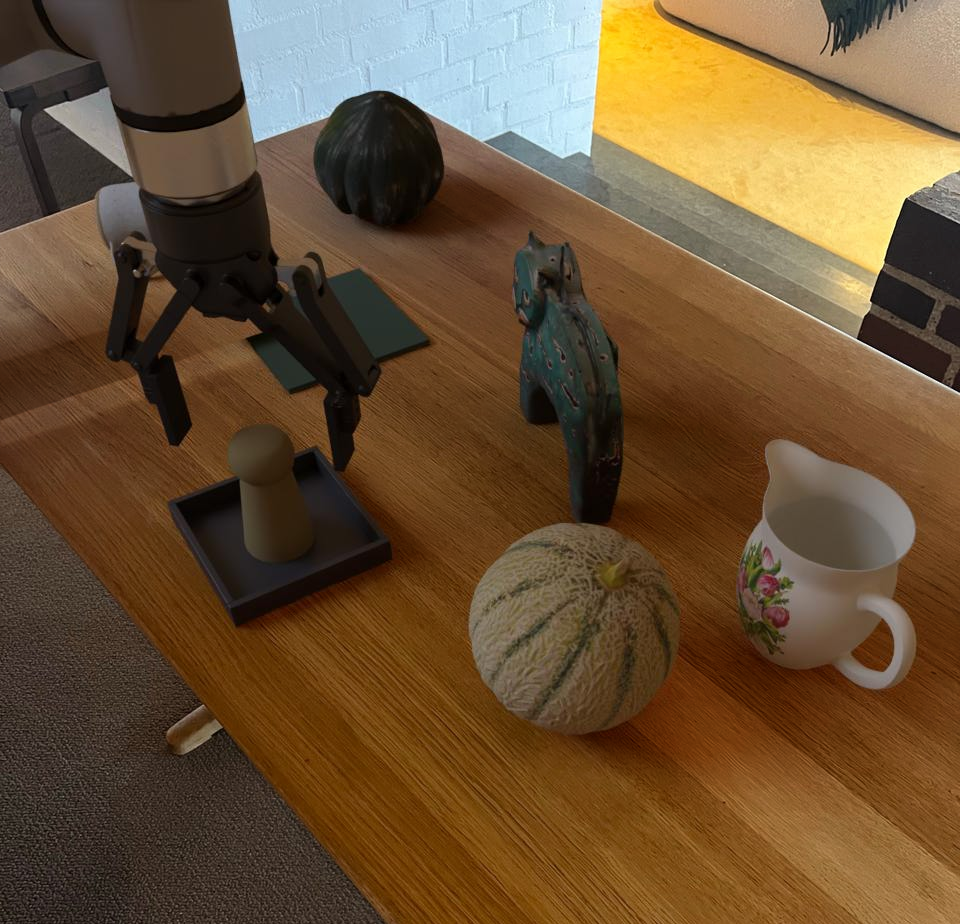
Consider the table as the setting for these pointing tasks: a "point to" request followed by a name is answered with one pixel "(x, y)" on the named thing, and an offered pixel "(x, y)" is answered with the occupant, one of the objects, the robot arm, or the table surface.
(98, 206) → the ceramic mug
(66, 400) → the table surface
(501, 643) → the cantaloupe
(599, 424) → the ceramic cat
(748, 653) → the table surface
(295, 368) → the mat
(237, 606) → the tray
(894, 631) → the pitcher
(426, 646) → the table surface
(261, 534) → the wooden peg doll
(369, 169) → the squash
